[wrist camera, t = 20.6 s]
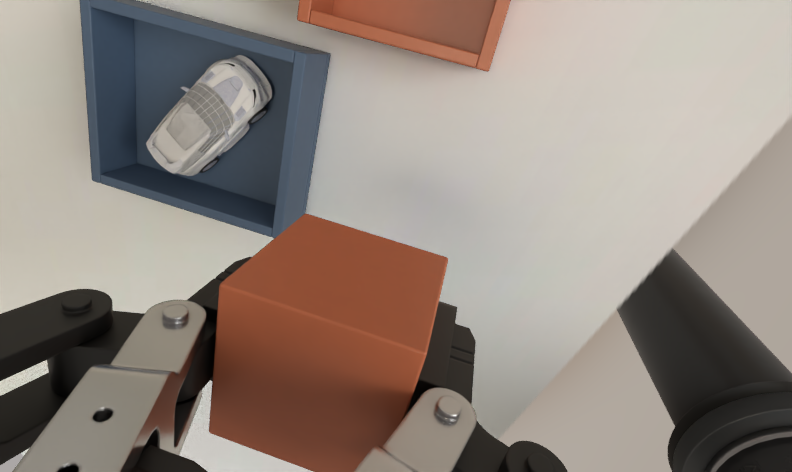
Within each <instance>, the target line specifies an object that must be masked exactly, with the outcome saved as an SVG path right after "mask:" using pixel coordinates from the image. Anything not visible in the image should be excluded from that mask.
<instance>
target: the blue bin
mask: <svg viewBox="0 0 792 472" xmlns="http://www.w3.org/2000/svg"><path fill="white" fill-rule="evenodd" d="M80 12H81V26H82V41H83V55H84V70H85V85H86V99H87V114H88V128H89V143H90V157H91V172H92V180H93V181H95V182H99V183H102V184H105V185H108V186H111V187H114V188H118V189H121V190H124V191H127V192H130V193H133V194H137V195H140V196H143V197H146V198H149V199H152V200H156V201H159V202H162V203H165V204H168V205H171V206H175V207H178V208H181V209H184V210H187V211H190V212H194V213H197V214H200V215H203V216H206V217H209V218H213V219H216V220H219V221H222V222H225V223H228V224H231V225H235V226H238V227H241V228H244V229H247V230H250V231H254V232H257V233H260V234H263V235H266V236H269V237H271V236H272V237H273V238H276V237H277V236H278V235H280V234H281V233H282V232H283V231H284V230H286V229H287V228H288V227H289V226H290V225H292V224H293V223H294V222H295V221H296V220H298V219H299V218H300V217H301V216H303V215H304V214H305V210H306V204H307V198H308V192H309V185H310V179H311V173H312V167H313V160H314V154H315V148H316V142H317V135H318V129H319V123H320V117H321V110H322V104H323V98H324V92H325V85H326V79H327V73H328V67H329V60H330V54H329V53H326V52H322V51H318V50H315V49H311V48H308V47H304V46H300V45H297V44H293V43H289V42H286V41H282V40H278V39H275V38H271V37H267V36H264V35H260V34H256V33H253V32H249V31H245V30H242V29H238V28H235V27H231V26H227V25H224V24H220V23H216V22H213V21H209V20H205V19H202V18H198V17H194V16H191V15H187V14H183V13H180V12H176V11H172V10H169V9H165V8H162V7H158V6H154V5H151V4H147V3H143V2H140V1H136V0H80ZM238 55H242V56H245V57H247V58H249V59H250V60H251V61H252V62H253V63H254V64H255V65H256V66H257V67H258V68H259V69H260V70H261V71H262V73H263V74H264V75H265V77H266V78H267V80H268V82H269V84H270V86H271V89H272V97H271V99H270V101H269V102H268V103H267V104H266V105H265V106H266V108H267V109H268V111H267V113H266V114H265V115H264V116H263V117H262V118H261V119H260V120H258V121H257V122H255V123H253V124H249V130H248V131H247V132H246V134H245V135H244V136H243V137H242V138H241V139H240V140H239V141H238V142H236V143H235V144H234V145H233V146H232V147H231V148H230V149H229V150H227V151H226V152H223V153H222V154H221V155H220V156H218V155H217V157H218V158H219V161H218V162H217V163H216V164H215V165H214V166H213V167H212V168H210V169H209V170H207V171H206V172H203V173H200V171H199V173H198V174H196V175H193V176H186V175H181V174H178V173H175V174H173V173H171V172H169V171H168V170H166V169H165V168H163V167H162V166H161V165H160V164H159V163H158V162H157V161H156V160H155V159H154V158H153V156H152V155H151V153H150V151H149V150H148V148H147V145H146V142H147V141H148V139H149V138H150V136H151V134H152V133H153V132H154V131H155V129H156V128H157V126H158V125H159V124H160V122H161V121H162V120H163V119H164V117H165V116H166V115H167V114H168V113H169V111H171V110H172V108H173V107H174V106H175V105H176V104H177V103H178V102H179V101H180V99H181V98H182V97H183V96H184V95H185V94H186V93H187V92H185V91H184V90H183V89H181V87H187V88H189V89H191V88H192V87H193V86H194V85H195V83H196V82H197V81H198V80H199V79H200V78H201V77H202V76H203V75H204V74H205V72H206V70H207V69H208V68H209V67H210V66H211V65H212V64H213V63H215V62H216V61H218V60H220V59H230V58H234V57H236V56H238Z"/></svg>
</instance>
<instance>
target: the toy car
mask: <svg viewBox="0 0 792 472" xmlns="http://www.w3.org/2000/svg"><path fill="white" fill-rule="evenodd" d="M181 89H183V90H184V91H185V92H187V93H186V94H185V95H184V96H183V97H182V98H181V99H180V101H179V102H178V103H177V104H176V105H175V106H174V107H173V108H172V110H171V111H169V113H168V114H167V115H166V116H165V117H164V119H163V120H162V121H161V122H160V124H159V125H158V126H157V128H156V129H155V131H154V132H153V133H152V134H151V136H150V138H149V139H148V141H147V142H146V145H147V148H148V150H149V151H150V153H151V155H152V156H153V158H154V159H155V160H156V161H157V162H158V163H159V164H160V165H161V166H162V167H163V168H165V169H166V170H168V171H169V172H171V173H173V174H175V173H178V174H181V175H186V176H193V175H196V174H198V173H199V171H200V173H203V172H206V171H207V170H209V169H210V168H212V167H213V166H214V165H215V164H216V163H217V162H218V161H219V158H218V157H217V155H218V156H220V155H221V154H222V153H223V152H226V151H227V150H229V149H230V148H231V147H232V146H233V145H234V144H235V143H236V142H238V141H239V140H240V139H241V138H242V137H243V136H244V135H245V134H246V132H247V131H248V130H249V124H253V123H255V122H257V121H258V120H260V119H261V118H262V117H263V116H264V115H265V114H266V113H267V111H268V109H267V108H266V106H265V105H266V104H267V103H268V102H269V101H270V99H271V97H272V89H271V86H270V84H269V82H268V80H267V78H266V77H265V75H264V74H263V73H262V71H261V70H260V69H259V68H258V67H257V66H256V65H255V64H254V63H253V62H252V61H251V60H250V59H249V58H247V57H245V56H242V55H238V56H236V57H234V58H230V59H220V60H218V61H216V62H215V63H213V64H212V65H211V66H210V67H209V68H208V69H207V70H206V72H205V74H204V75H203V76H202V77H201V78H200V79H199V80H198V81H197V82H196V83H195V85H194V86H193V87H192V88H191V89H189V88H187V87H181Z"/></svg>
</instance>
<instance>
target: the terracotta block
mask: <svg viewBox="0 0 792 472" xmlns="http://www.w3.org/2000/svg"><path fill="white" fill-rule="evenodd" d="M447 263H448V258H447V257H444V256H440V255H437V254H434V253H431V252H428V251H424V250H421V249H418V248H415V247H411V246H408V245H405V244H402V243H399V242H395V241H392V240H389V239H386V238H383V237H379V236H376V235H373V234H370V233H367V232H363V231H360V230H357V229H354V228H351V227H347V226H344V225H341V224H338V223H335V222H331V221H328V220H325V219H322V218H318V217H315V216H312V215H309V214H304V215H303V216H301V217H300V218H299V219H298V220H296V221H295V222H294V223H293V224H292V225H290V226H289V227H288V228H287V229H286V230H284V231H283V232H282V233H281V234H280V235H278V236H277V237H276V238H275V239H274V240H272V241H271V242H270V243H269V244H268V245H266V246H265V247H264V248H263V249H261V250H260V251H259V252H258V253H257V254H255V255H254V256H253V257H252V258H251V259H249V260H248V261H247V262H246V263H245V264H243V265H242V266H241V267H240V268H239V269H237V270H236V271H235V272H234V273H232V274H231V275H230V276H229V277H228V278H226V279H225V280H224V281H223V282H222V283H221V284H220V286H219V298H218V312H217V326H216V340H215V354H214V368H213V382H212V396H211V410H210V424H209V432H210V433H211V434H214V435H217V436H220V437H222V438H225V439H228V440H230V441H233V442H236V443H238V444H241V445H244V446H246V447H249V448H252V449H255V450H257V451H260V452H263V453H265V454H268V455H271V456H273V457H276V458H279V459H281V460H284V461H287V462H290V463H292V464H295V465H298V466H300V467H303V468H306V469H308V470H311V471H314V472H354V471H355V469H356V468H357V467H358V465H359V464H360V463H361V462H362V460H363V459H364V458H365V457H366V455H367V454H368V453H369V452H370V450H371V449H372V448H373V447H374V446H376V445H379V446H381V447H382V446H383V445H384V444H385V443H386V441H387V440H388V439H389V437H390V436H391V435H392V433H393V432H394V431H395V429H396V428H397V427H398V426H399V424H400V423H401V422H402V420H403V419H404V418H405V416H406V414H407V411H408V408H409V405H410V402H411V399H412V396H413V393H414V390H415V387H416V384H417V382H418V379H419V376H420V373H421V370H422V367H423V364H424V361H425V358H426V355H427V351H428V347H429V342H430V338H431V334H432V329H433V325H434V320H435V316H436V311H437V307H438V303H439V298H440V294H441V289H442V285H443V280H444V276H445V272H446V267H447Z"/></svg>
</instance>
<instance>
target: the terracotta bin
mask: <svg viewBox="0 0 792 472" xmlns="http://www.w3.org/2000/svg"><path fill="white" fill-rule="evenodd" d="M510 1H511V0H299V8H298V16H297V20H298V21H302V22H305V23H310V24H313V25H316V26H320V27H324V28H328V29H331V30H335V31H339V32H342V33H346V34H350V35H354V36H357V37H361V38H365V39H369V40H372V41H376V42H380V43H383V44H387V45H391V46H395V47H398V48H402V49H406V50H409V51H413V52H417V53H421V54H424V55H428V56H432V57H435V58H439V59H443V60H447V61H450V62H454V63H458V64H462V65H465V66H469V67H473V68H475V67H476V68H477V69H480V70H484V71H489V69H490V65H491V62H492V59H493V56H494V53H495V49H496V46H497V43H498V40H499V37H500V33H501V30H502V27H503V24H504V20H505V17H506V14H507V11H508V8H509V4H510Z"/></svg>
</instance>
